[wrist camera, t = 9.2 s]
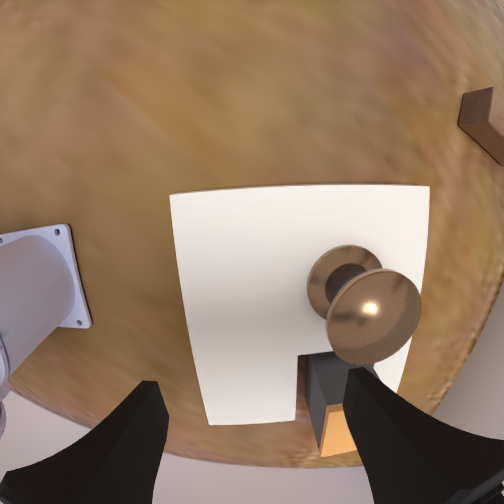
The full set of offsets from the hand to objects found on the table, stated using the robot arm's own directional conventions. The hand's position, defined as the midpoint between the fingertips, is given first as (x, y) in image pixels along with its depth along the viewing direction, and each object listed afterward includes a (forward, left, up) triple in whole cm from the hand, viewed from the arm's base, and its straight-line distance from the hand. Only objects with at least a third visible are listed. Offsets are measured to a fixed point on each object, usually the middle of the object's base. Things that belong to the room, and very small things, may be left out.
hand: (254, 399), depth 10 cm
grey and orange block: (+6, -7, -10) cm, 13 cm away
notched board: (+4, -2, -9) cm, 10 cm away
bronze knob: (+6, +1, -8) cm, 10 cm away
